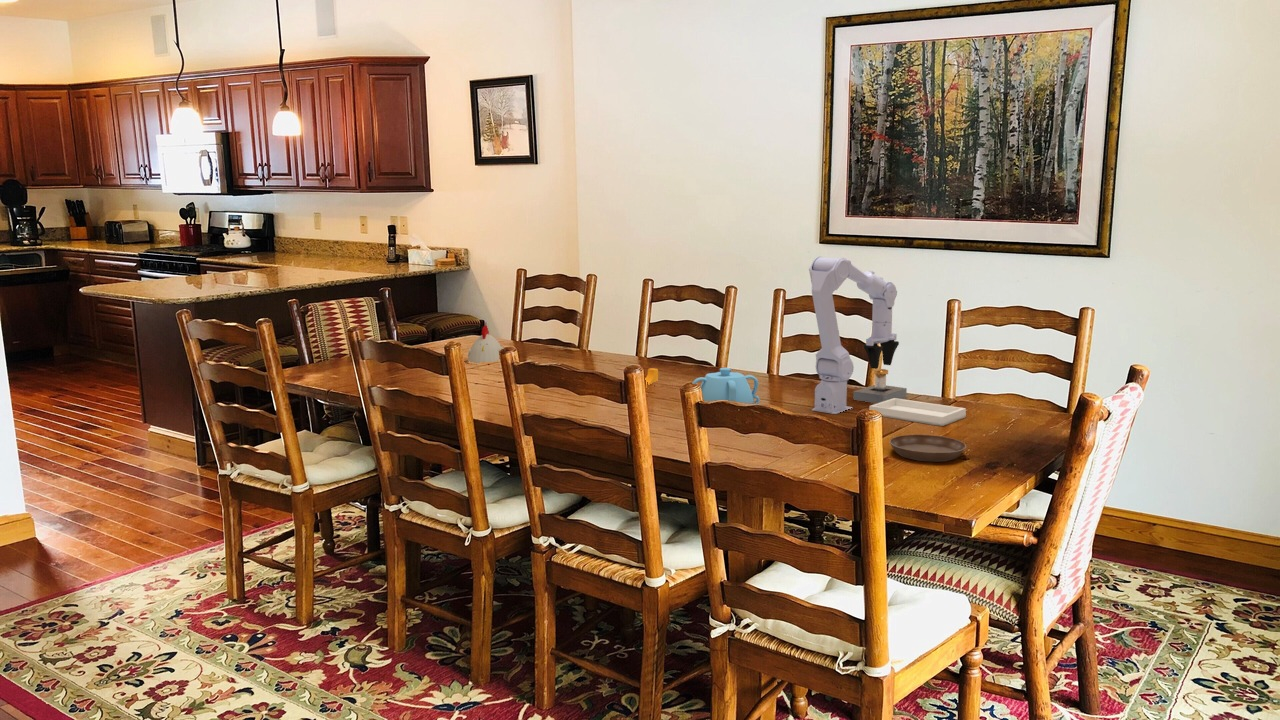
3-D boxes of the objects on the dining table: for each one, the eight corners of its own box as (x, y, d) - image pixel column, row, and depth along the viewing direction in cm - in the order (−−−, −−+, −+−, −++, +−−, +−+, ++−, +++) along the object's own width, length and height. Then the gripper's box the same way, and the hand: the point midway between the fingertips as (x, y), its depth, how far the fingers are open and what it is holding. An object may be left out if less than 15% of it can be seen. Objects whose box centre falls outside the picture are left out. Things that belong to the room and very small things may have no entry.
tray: (942, 426, 266) (942, 417, 266) (869, 414, 281) (869, 405, 281) (965, 417, 276) (965, 408, 276) (893, 406, 291) (894, 398, 291)
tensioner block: (882, 405, 292) (883, 395, 292) (853, 401, 299) (853, 391, 299) (906, 397, 303) (906, 388, 302) (876, 393, 309) (877, 384, 309)
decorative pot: (729, 424, 272) (730, 375, 270) (684, 416, 283) (684, 368, 280) (765, 414, 284) (765, 367, 281) (720, 406, 294) (720, 361, 292)
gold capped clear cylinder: (882, 401, 298) (883, 372, 296) (869, 399, 301) (870, 370, 299) (890, 399, 301) (890, 369, 299) (877, 397, 304) (877, 368, 302)
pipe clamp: (647, 387, 326) (647, 367, 325) (658, 388, 323) (657, 368, 322) (624, 393, 316) (624, 373, 315) (635, 394, 314) (635, 374, 313)
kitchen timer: (464, 369, 362) (462, 328, 360) (472, 362, 376) (470, 323, 373) (502, 369, 361) (500, 328, 359) (508, 362, 375) (507, 323, 372)
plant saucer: (936, 442, 250) (936, 431, 250) (981, 460, 234) (982, 447, 233) (875, 449, 245) (875, 437, 244) (916, 468, 228) (917, 455, 228)
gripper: (881, 325, 289) (880, 371, 291) (906, 320, 299) (904, 364, 302) (860, 323, 294) (859, 368, 296) (885, 318, 304) (883, 362, 306)
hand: (880, 366), depth 299 cm, fingers open, 7 cm apart
